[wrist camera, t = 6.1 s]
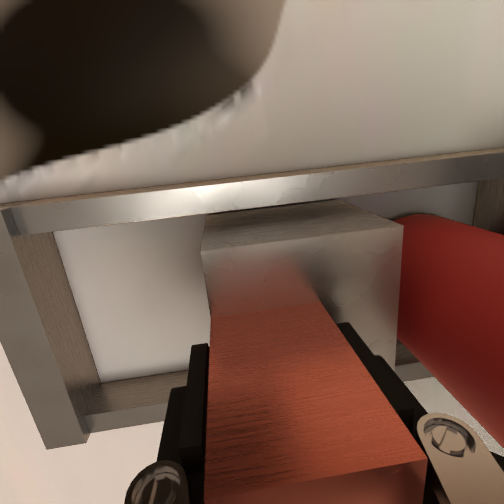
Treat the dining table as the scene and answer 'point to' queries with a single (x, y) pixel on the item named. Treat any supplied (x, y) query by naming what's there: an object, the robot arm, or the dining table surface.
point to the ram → (304, 359)
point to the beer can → (456, 311)
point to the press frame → (158, 207)
